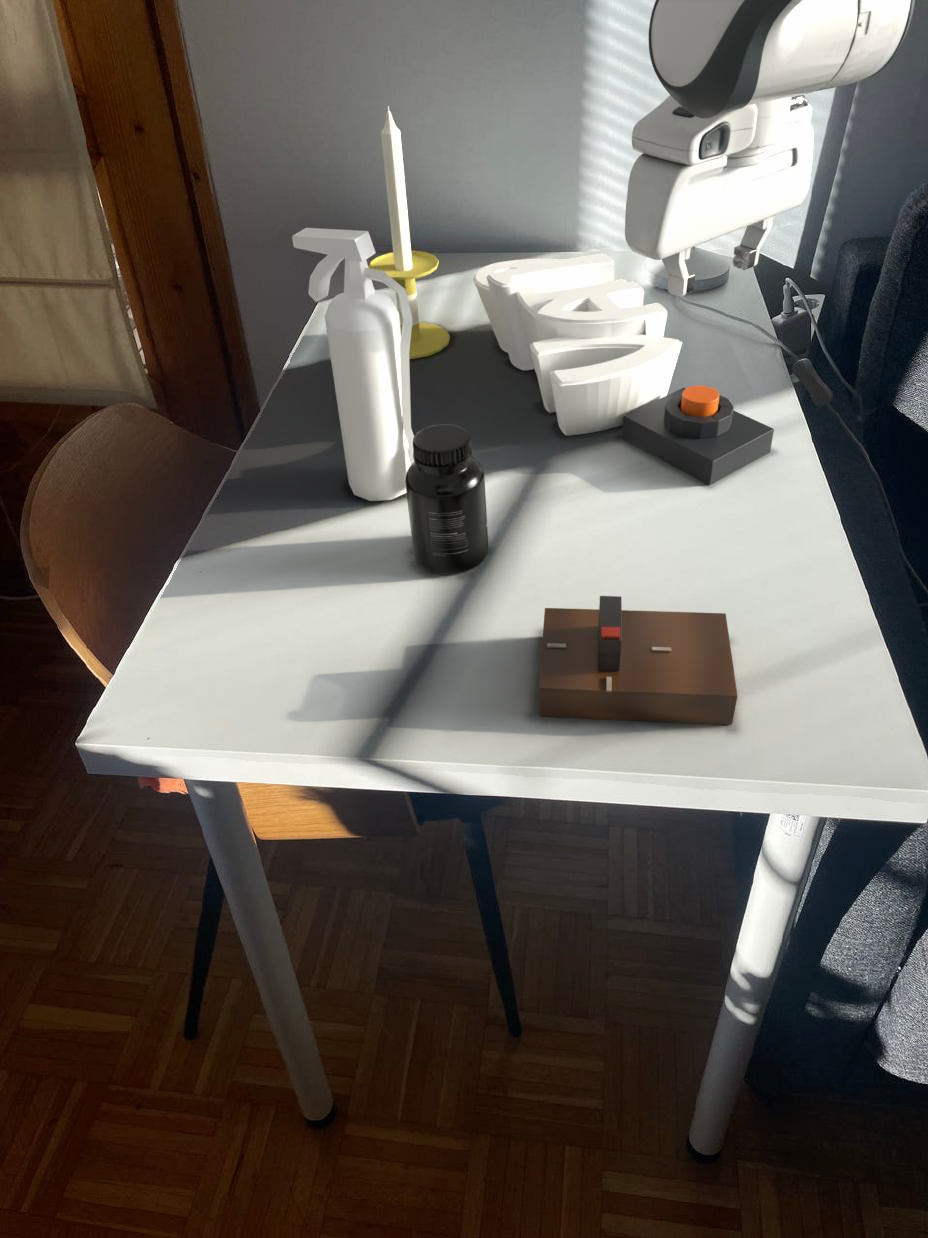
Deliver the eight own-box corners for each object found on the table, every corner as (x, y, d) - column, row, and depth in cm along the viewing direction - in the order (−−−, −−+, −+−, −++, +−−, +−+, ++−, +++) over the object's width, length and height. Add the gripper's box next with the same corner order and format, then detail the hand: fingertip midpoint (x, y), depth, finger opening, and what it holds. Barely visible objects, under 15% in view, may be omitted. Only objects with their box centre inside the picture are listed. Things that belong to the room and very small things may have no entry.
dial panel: (721, 640, 76) (725, 610, 74) (732, 726, 69) (738, 695, 67) (544, 634, 78) (544, 605, 76) (539, 717, 71) (538, 687, 69)
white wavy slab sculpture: (697, 439, 99) (708, 343, 92) (544, 465, 97) (544, 368, 90) (591, 308, 125) (594, 226, 118) (468, 326, 123) (464, 243, 116)
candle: (372, 362, 117) (341, 121, 99) (370, 328, 125) (341, 98, 107) (453, 354, 117) (437, 113, 100) (446, 321, 125) (430, 91, 107)
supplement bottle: (502, 544, 87) (498, 428, 80) (463, 586, 83) (454, 467, 75) (440, 524, 90) (430, 410, 83) (398, 563, 86) (384, 447, 78)
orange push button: (725, 409, 96) (727, 394, 94) (700, 422, 94) (702, 406, 93) (697, 397, 98) (699, 381, 97) (673, 409, 96) (674, 393, 95)
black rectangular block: (598, 625, 74) (600, 593, 72) (619, 626, 74) (621, 593, 71) (597, 670, 70) (599, 637, 68) (619, 671, 70) (622, 638, 68)
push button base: (770, 452, 97) (777, 412, 94) (709, 485, 93) (715, 444, 90) (681, 409, 104) (685, 371, 101) (621, 438, 100) (624, 399, 97)
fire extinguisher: (420, 520, 91) (393, 257, 75) (320, 488, 96) (275, 235, 80) (457, 485, 95) (440, 229, 79) (360, 456, 100) (325, 210, 84)
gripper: (783, 82, 85) (759, 241, 94) (616, 131, 76) (608, 301, 85) (844, 93, 81) (813, 258, 90) (676, 147, 72) (661, 323, 81)
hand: (712, 279), depth 87 cm, fingers open, 7 cm apart
